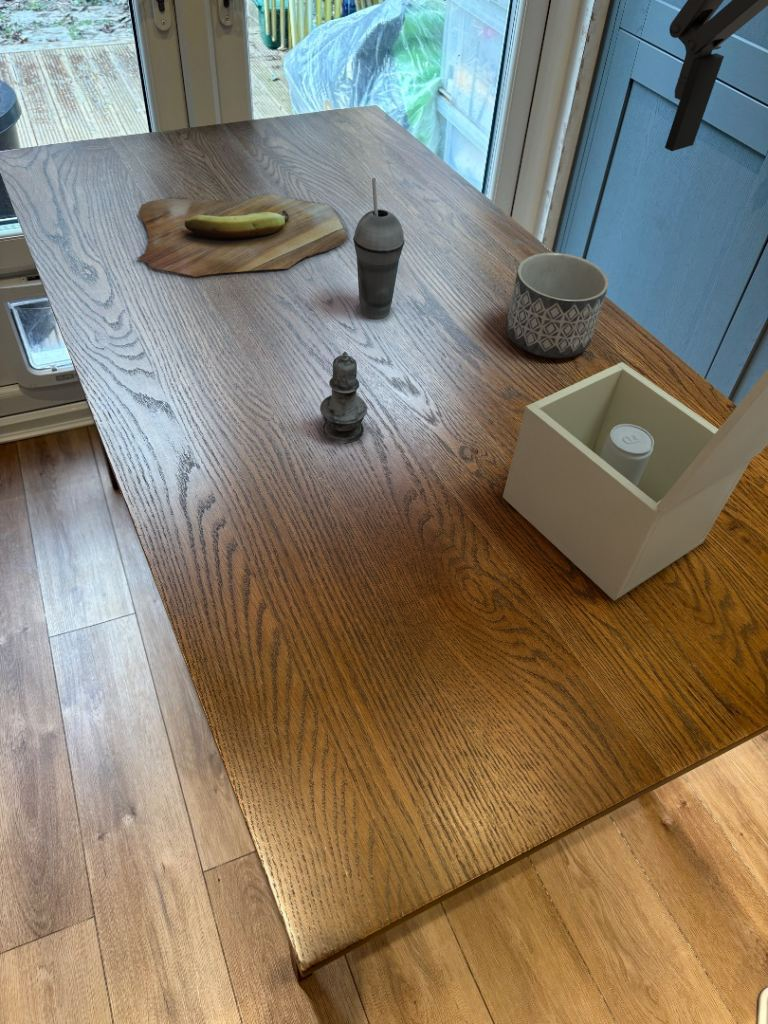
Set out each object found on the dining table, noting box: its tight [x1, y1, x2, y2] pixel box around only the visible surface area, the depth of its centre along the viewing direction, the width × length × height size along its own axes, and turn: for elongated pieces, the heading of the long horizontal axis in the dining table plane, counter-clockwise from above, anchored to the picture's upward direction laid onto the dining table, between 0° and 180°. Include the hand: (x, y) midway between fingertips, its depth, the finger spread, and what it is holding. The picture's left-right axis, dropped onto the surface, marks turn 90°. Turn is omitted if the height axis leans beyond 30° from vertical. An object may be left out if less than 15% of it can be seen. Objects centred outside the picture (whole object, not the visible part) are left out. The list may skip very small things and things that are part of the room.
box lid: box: [657, 368, 768, 512], centre depth 65 cm, size 19×15×1 cm
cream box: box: [502, 361, 753, 601], centre depth 82 cm, size 18×15×14 cm
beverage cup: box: [352, 177, 406, 320], centre depth 107 cm, size 7×7×20 cm
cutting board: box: [136, 194, 347, 278], centre depth 126 cm, size 35×27×4 cm
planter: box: [505, 252, 610, 359], centre depth 108 cm, size 13×13×10 cm
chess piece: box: [319, 351, 368, 445], centre depth 91 cm, size 6×6×12 cm
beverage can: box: [600, 424, 654, 487], centre depth 82 cm, size 5×5×12 cm
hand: (748, 179), depth 58 cm, fingers open, 13 cm apart
